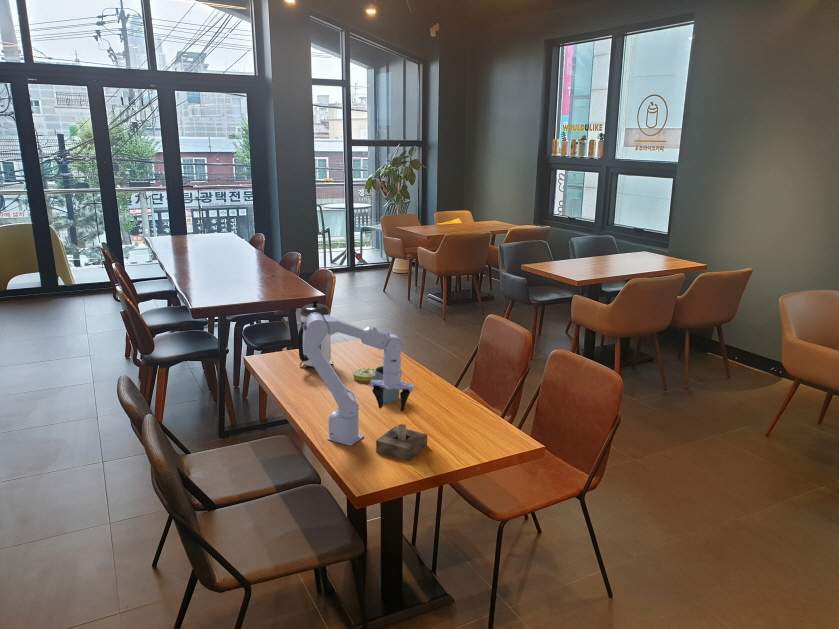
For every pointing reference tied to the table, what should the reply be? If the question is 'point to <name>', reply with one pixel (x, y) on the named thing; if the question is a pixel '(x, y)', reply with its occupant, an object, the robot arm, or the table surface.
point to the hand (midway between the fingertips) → (391, 408)
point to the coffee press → (304, 314)
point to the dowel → (402, 432)
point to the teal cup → (388, 394)
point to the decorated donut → (364, 375)
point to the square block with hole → (401, 444)
